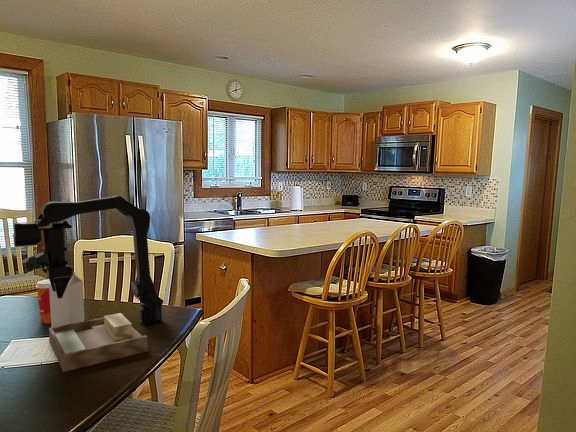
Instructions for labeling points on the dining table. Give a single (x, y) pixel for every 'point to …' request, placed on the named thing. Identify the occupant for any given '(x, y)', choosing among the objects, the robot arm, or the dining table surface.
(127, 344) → the open tray box
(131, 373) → the dining table surface
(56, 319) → the milk carton
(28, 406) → the dining table surface
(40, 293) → the paper cup
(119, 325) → the cream rectangular block
